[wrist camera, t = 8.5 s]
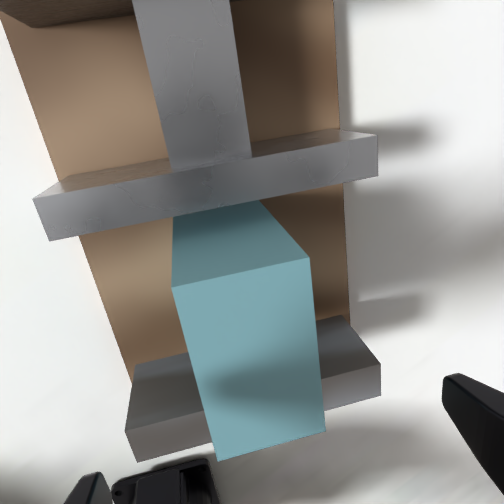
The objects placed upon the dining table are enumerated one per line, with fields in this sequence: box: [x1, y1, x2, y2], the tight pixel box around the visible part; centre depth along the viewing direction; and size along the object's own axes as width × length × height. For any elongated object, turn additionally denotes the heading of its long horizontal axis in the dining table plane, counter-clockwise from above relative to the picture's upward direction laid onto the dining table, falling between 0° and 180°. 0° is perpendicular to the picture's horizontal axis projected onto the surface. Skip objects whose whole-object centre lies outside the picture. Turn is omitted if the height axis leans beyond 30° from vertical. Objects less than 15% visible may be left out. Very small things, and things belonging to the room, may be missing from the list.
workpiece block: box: [171, 200, 326, 461], centre depth 15 cm, size 7×4×8 cm, turn 8°
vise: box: [0, 0, 381, 463], centre depth 16 cm, size 20×13×6 cm, turn 9°
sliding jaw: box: [0, 0, 378, 241], centre depth 14 cm, size 8×12×4 cm, turn 99°
